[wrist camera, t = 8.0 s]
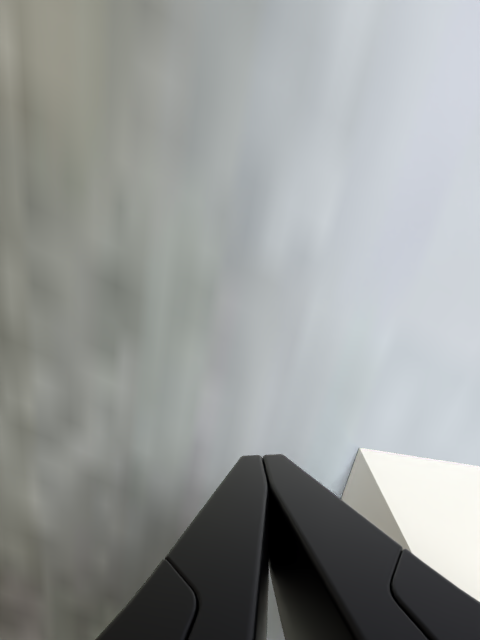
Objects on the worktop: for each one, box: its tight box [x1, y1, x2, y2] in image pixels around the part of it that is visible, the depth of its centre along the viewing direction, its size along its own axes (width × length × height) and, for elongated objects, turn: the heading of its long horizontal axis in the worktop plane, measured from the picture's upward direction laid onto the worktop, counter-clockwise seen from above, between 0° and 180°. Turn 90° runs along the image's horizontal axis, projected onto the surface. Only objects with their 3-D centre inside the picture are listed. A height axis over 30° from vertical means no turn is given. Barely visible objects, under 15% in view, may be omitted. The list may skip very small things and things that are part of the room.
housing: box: [341, 448, 480, 602], centre depth 19 cm, size 10×6×10 cm, turn 78°
